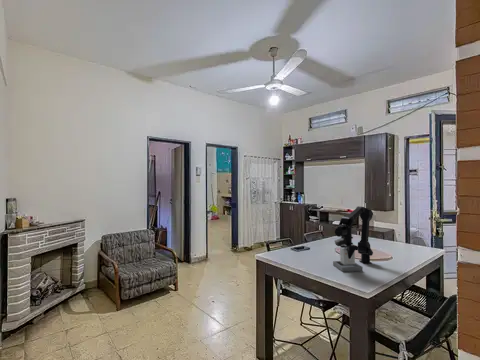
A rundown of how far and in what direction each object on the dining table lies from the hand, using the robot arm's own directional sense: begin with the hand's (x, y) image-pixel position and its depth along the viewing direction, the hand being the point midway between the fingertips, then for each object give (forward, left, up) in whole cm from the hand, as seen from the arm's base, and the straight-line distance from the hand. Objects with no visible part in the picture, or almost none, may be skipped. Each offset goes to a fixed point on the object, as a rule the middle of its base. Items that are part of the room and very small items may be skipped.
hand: (347, 257), depth 180 cm
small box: (0, 0, -4) cm, 4 cm away
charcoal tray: (0, 0, -8) cm, 8 cm away
